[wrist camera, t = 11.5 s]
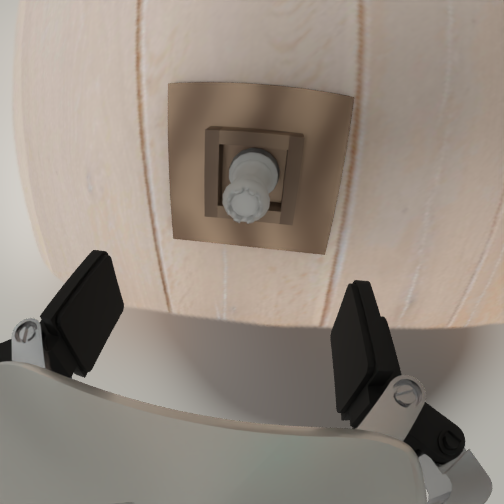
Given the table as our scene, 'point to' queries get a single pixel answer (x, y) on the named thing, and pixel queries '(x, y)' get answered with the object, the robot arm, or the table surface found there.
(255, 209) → the rook chess piece
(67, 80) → the table surface
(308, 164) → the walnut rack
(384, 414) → the robot arm
